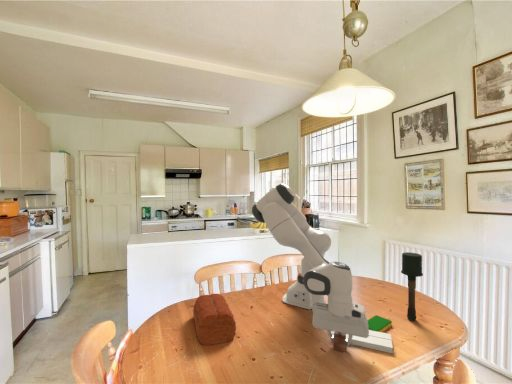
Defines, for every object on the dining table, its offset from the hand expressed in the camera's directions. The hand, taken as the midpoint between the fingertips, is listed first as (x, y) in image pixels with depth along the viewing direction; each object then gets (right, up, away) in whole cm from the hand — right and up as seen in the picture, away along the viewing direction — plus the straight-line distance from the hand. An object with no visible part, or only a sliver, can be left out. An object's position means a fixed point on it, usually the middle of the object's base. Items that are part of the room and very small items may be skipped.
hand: (339, 343), depth 98 cm
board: (+10, -2, +5) cm, 12 cm away
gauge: (+2, -2, +4) cm, 4 cm away
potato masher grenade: (+40, -2, +22) cm, 46 cm away
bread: (-50, -2, +15) cm, 53 cm away
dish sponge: (+21, -2, +15) cm, 26 cm away
